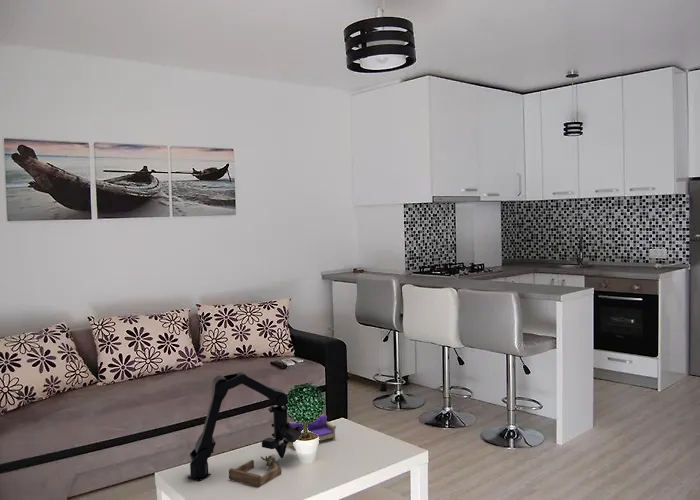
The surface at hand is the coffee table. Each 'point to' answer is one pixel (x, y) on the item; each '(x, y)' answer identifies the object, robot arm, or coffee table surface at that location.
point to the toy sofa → (318, 428)
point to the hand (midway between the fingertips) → (282, 458)
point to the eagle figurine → (271, 461)
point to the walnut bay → (252, 475)
